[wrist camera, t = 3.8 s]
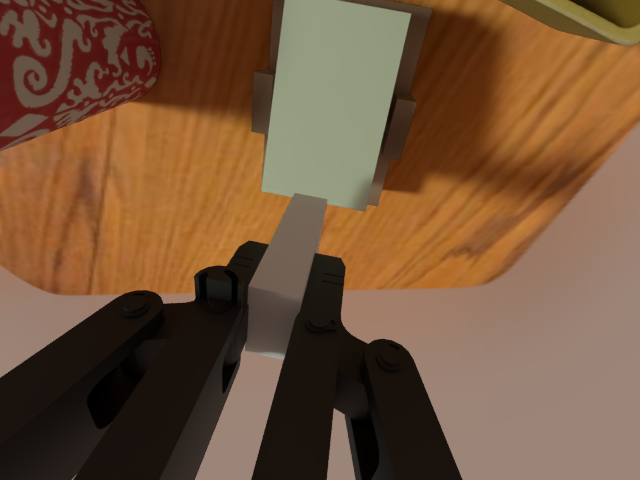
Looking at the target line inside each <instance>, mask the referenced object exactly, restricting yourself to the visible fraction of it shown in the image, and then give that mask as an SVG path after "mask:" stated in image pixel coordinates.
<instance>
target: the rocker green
mask: <svg viewBox="0 0 640 480" xmlns="http://www.w3.org/2000/svg"><path fill="white" fill-rule="evenodd" d="M410 17H411V13H405V12H400V11H394V10H388V9H383V8H377V7H372V6H366V5H361V4H355V3H350V2H344V1H339V0H285V2H284V10H283V18H282V26H281V35H280V43H279V51H278V59H277V67H276V75H275V83H274V91H273V99H272V108H271V116H270V124H269V132H268V140H267V148H266V156H265V164H264V172H263V181H262V189H261V191H264V192H269V193H274V194H279V195H284V196H289V197H293V195H294V193H298V194H303V195H308V196H313V197H319V198H324V199H328V201H327V204H330V205H335V206H340V207H345V208H350V209H355V210H360V211H366V207H367V203H368V198H369V194H370V190H371V185H372V181H373V177H374V172H375V168H376V164H377V159H378V155H379V151H380V147H381V142H382V138H383V134H384V129H385V125H386V121H387V116H388V112H389V108H390V103H391V99H392V95H393V90H394V86H395V82H396V77H397V73H398V69H399V64H400V60H401V56H402V52H403V47H404V43H405V39H406V34H407V30H408V26H409V21H410Z"/></svg>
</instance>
